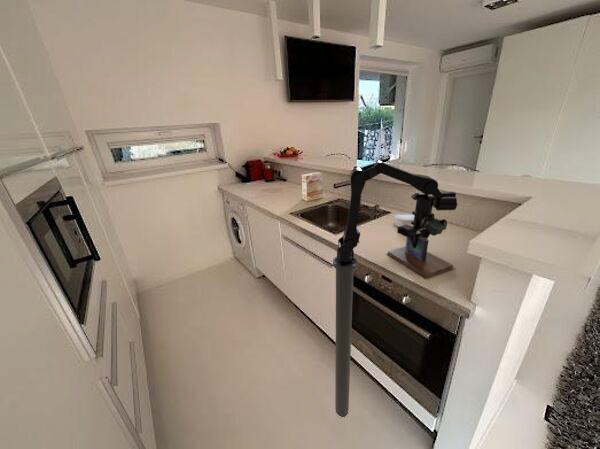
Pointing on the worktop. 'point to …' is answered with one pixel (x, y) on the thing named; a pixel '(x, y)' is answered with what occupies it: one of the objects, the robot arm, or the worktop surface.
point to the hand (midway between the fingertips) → (418, 246)
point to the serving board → (421, 263)
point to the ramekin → (403, 219)
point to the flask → (417, 248)
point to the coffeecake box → (312, 186)
